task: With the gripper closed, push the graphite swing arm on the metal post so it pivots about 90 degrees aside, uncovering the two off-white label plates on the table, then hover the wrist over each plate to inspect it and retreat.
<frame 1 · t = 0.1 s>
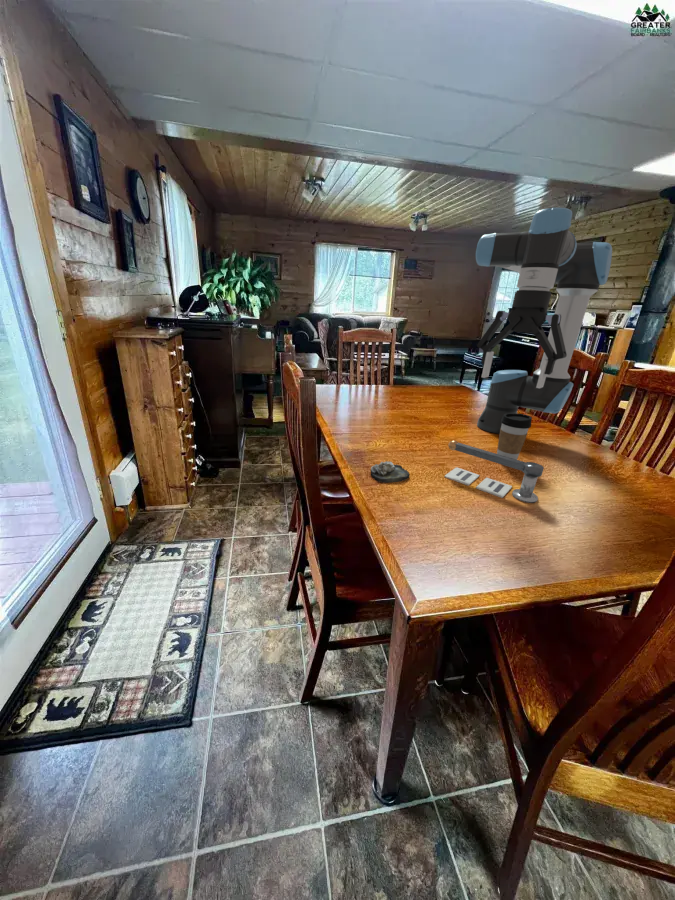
hand: (510, 382, 89), 28 cm above the table, fingers open, 13 cm apart
swing arm: (492, 457, 94), point 8 cm above the table, hinge at 0.0°
label B: (493, 487, 95), on the table
label A: (461, 476, 100), on the table
post: (524, 496, 91), on the table
dark grey lumpy mound: (389, 476, 100), on the table
coffee cup: (505, 460, 113), on the table
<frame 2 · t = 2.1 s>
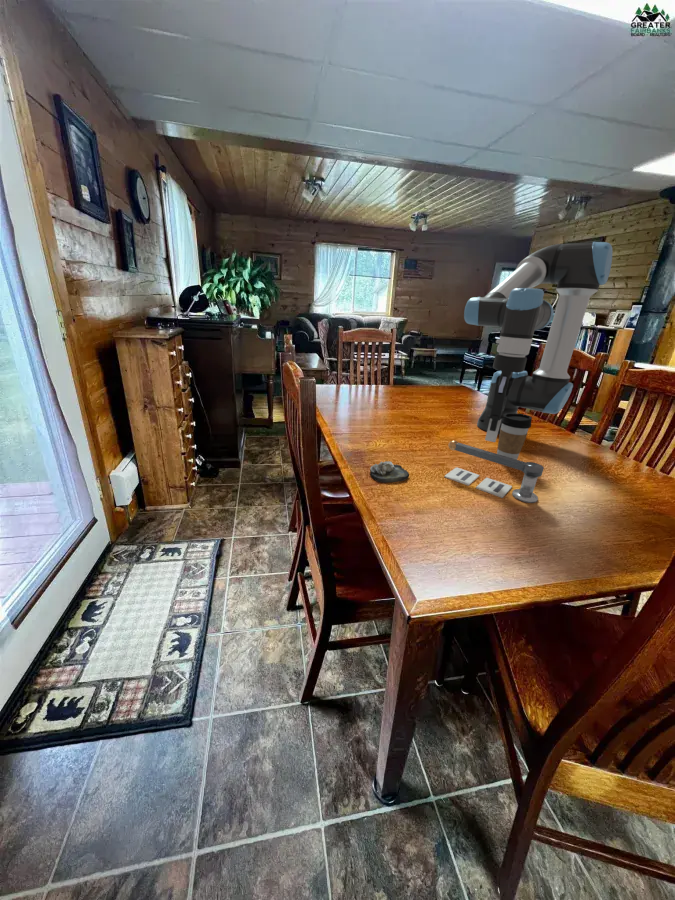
hand: (490, 440, 99), 10 cm above the table, fingers closed
nothing on the table moved.
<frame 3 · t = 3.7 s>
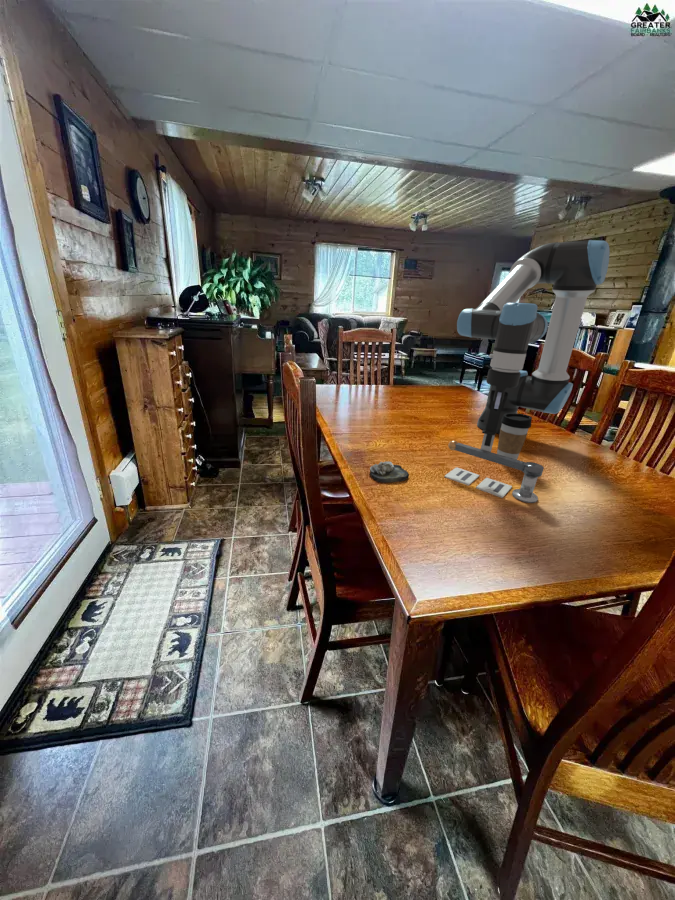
hand: (484, 455, 97), 7 cm above the table, fingers closed
swing arm: (492, 457, 94), point 8 cm above the table, hinge at 0.2°, touching gripper
everything else where it was.
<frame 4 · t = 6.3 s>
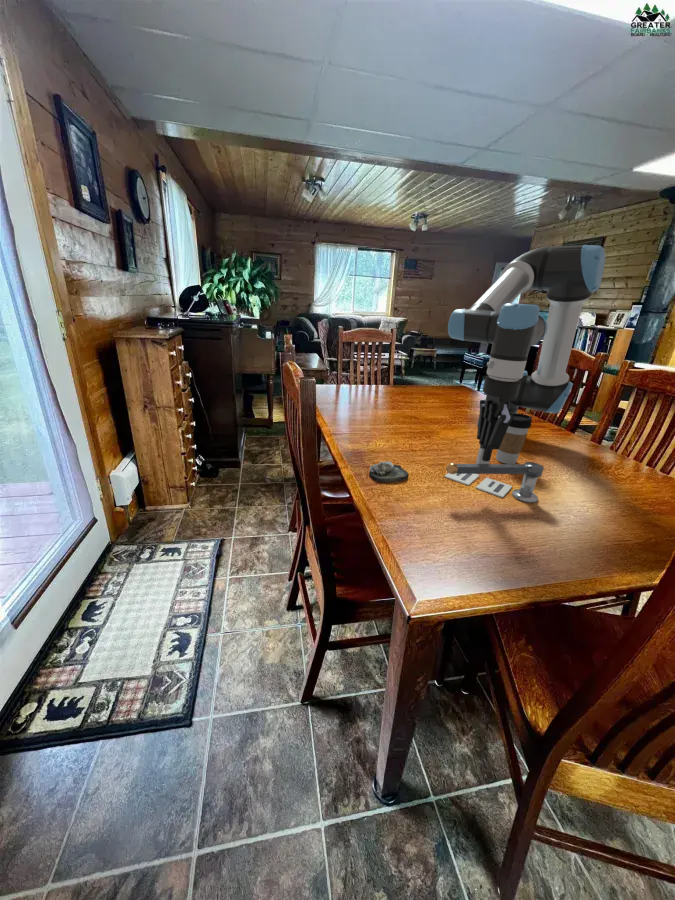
hand: (480, 470, 89), 7 cm above the table, fingers closed
swing arm: (494, 469, 87), point 8 cm above the table, hinge at 45.7°, touching gripper
everything else where it was.
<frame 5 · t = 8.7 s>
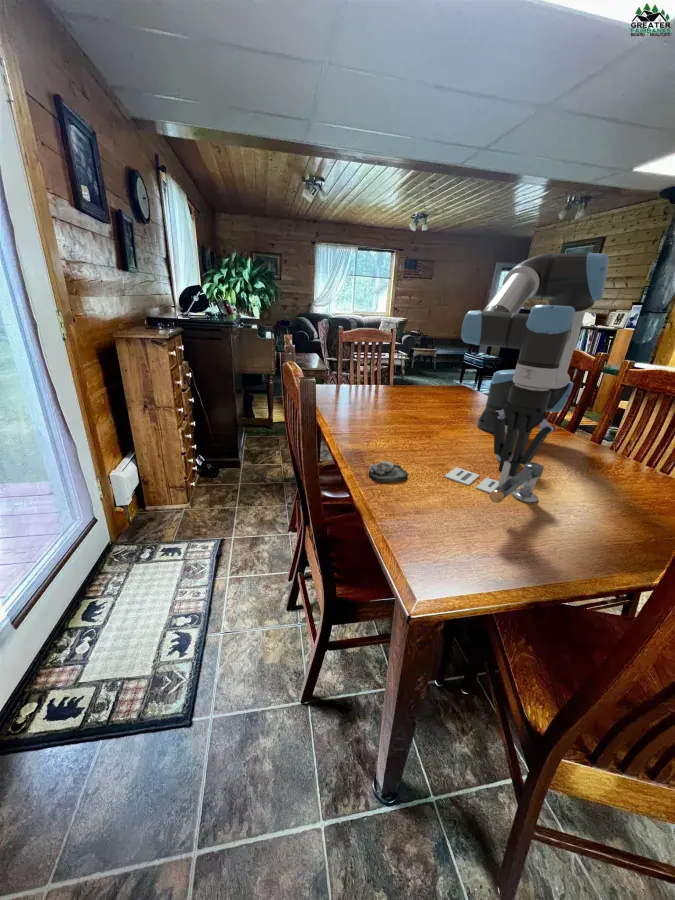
hand: (503, 486, 82), 7 cm above the table, fingers closed
swing arm: (516, 481, 82), point 8 cm above the table, hinge at 84.1°, touching gripper
everything else where it was.
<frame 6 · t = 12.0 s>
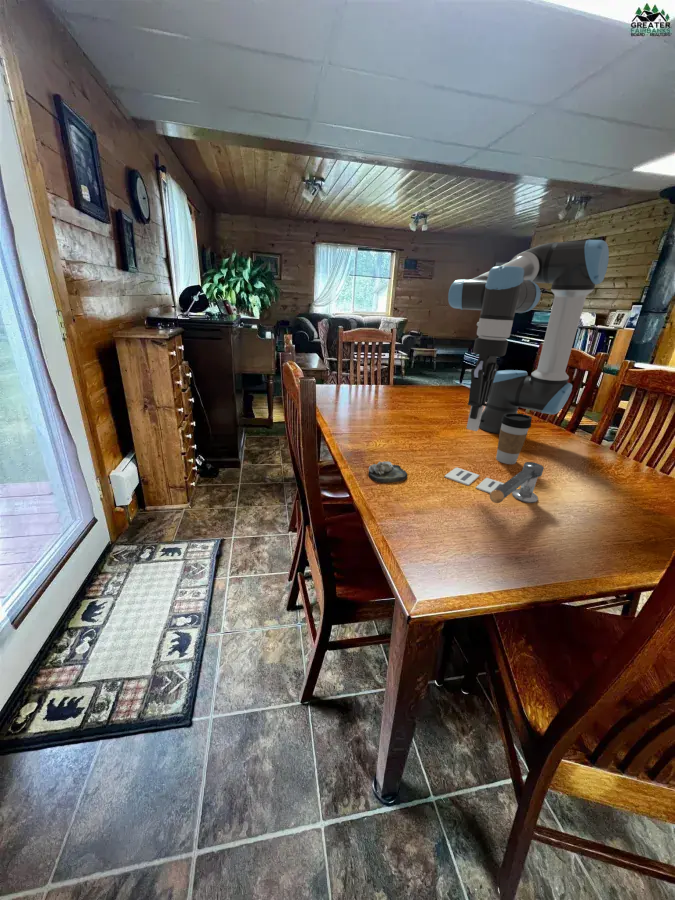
hand: (472, 429, 95), 14 cm above the table, fingers closed
swing arm: (517, 481, 82), point 8 cm above the table, hinge at 84.2°
everything else where it was.
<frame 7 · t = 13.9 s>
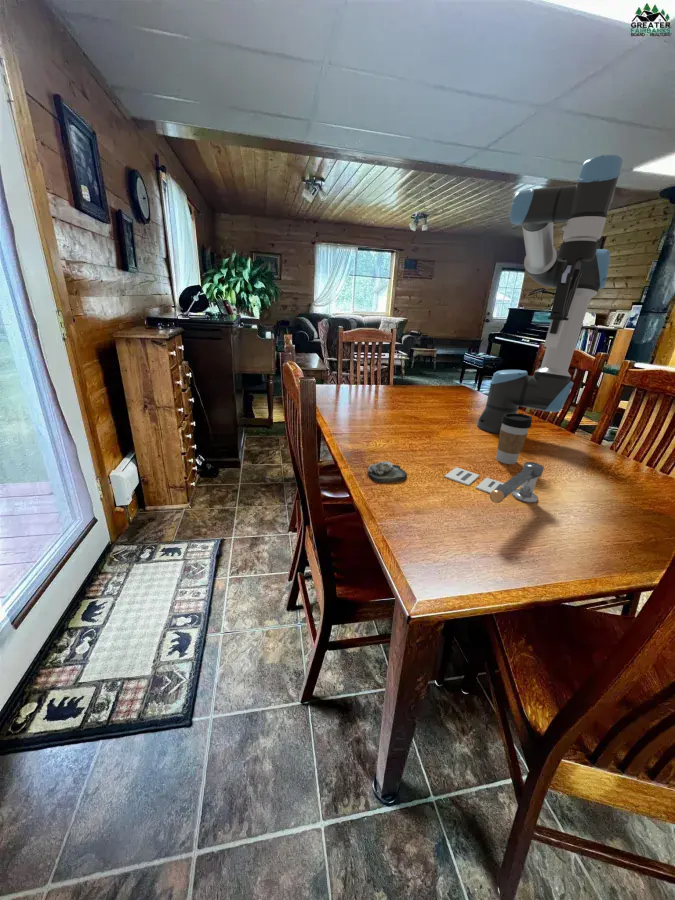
hand: (550, 346, 91), 36 cm above the table, fingers closed
nothing on the table moved.
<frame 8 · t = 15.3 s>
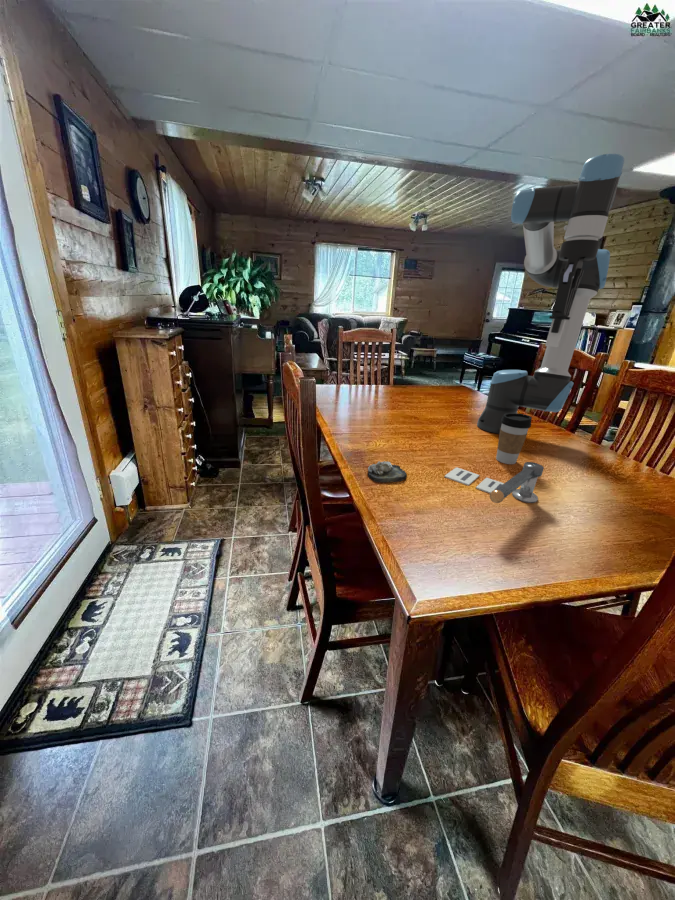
hand: (551, 346, 90), 36 cm above the table, fingers closed
nothing on the table moved.
at the end: swing arm at +84° (first picture: +0°) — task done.
